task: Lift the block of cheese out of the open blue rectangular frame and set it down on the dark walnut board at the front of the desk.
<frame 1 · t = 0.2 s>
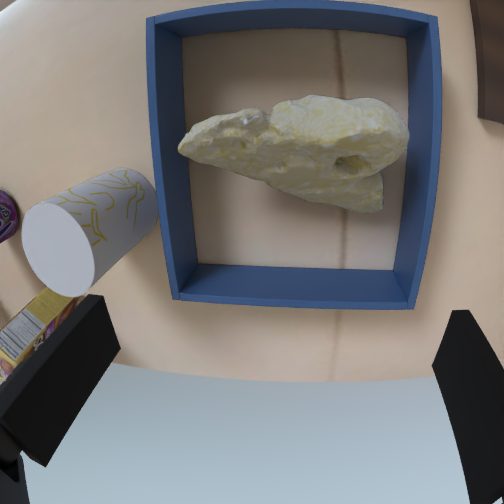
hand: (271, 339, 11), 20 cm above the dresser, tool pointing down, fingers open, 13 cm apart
blue rectangular frame: (297, 151, 28), on the dresser
beverage can: (7, 211, 36), on the dresser
white cylinder: (125, 204, 32), on the dresser
candy box: (66, 301, 40), on the dresser
cheese: (297, 151, 28), on the dresser
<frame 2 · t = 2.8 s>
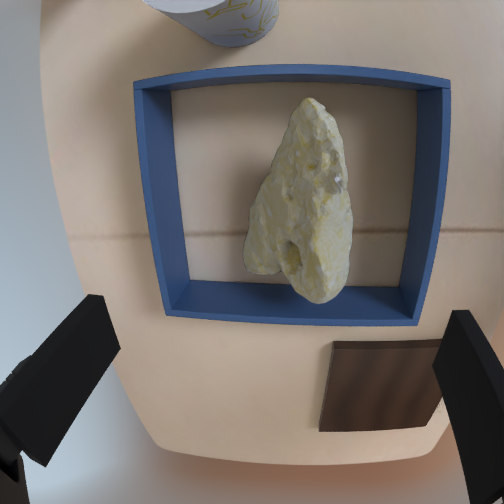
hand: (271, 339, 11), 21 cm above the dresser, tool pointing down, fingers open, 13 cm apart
blue rectangular frame: (295, 190, 30), on the dresser
white cylinder: (235, 9, 23), on the dresser
board: (387, 388, 39), on the dresser
cheese: (295, 189, 30), on the dresser
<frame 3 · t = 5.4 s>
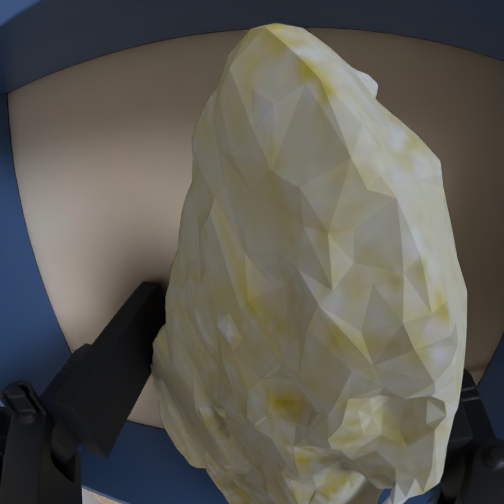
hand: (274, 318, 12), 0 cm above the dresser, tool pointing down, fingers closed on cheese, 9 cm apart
blue rectangular frame: (268, 311, 12), on the dresser
cheese: (262, 309, 13), on the dresser, touching gripper
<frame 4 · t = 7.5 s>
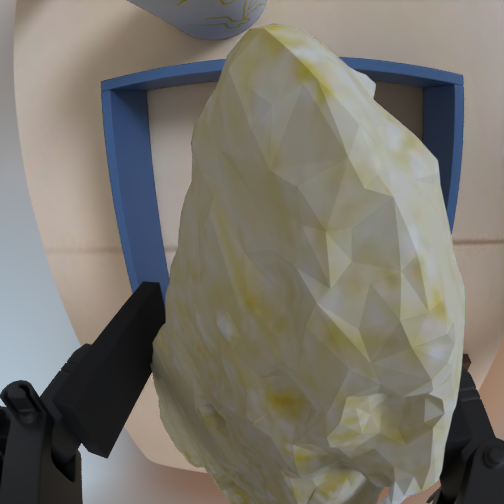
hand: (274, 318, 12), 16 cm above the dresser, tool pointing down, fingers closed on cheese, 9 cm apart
blue rectangular frame: (285, 200, 27), on the dresser
cheese: (261, 308, 13), point 16 cm above the dresser, touching gripper
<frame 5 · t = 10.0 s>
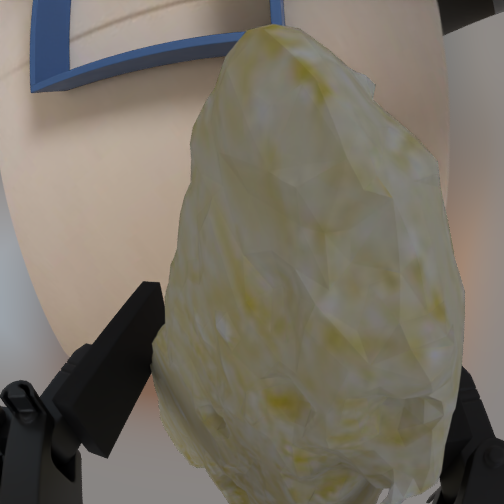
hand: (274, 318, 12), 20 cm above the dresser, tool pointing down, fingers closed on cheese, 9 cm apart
cheese: (261, 309, 13), point 20 cm above the dresser, touching gripper
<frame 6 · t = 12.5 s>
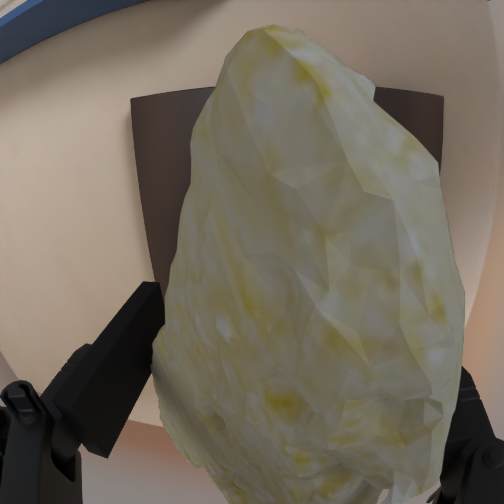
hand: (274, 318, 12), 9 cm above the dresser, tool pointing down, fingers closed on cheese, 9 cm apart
board: (287, 231, 20), on the dresser
cheese: (261, 309, 13), point 8 cm above the dresser, touching gripper
when the fingers open (2 cm above the dresser, at t = 14.6 s): cheese stays where it is, resting on board.
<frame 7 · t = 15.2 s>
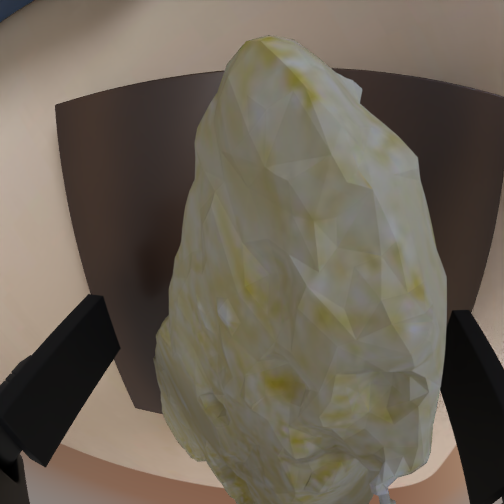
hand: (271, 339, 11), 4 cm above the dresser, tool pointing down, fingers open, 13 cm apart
board: (278, 287, 14), on the dresser
cheese: (261, 304, 13), point 1 cm above the dresser, touching board
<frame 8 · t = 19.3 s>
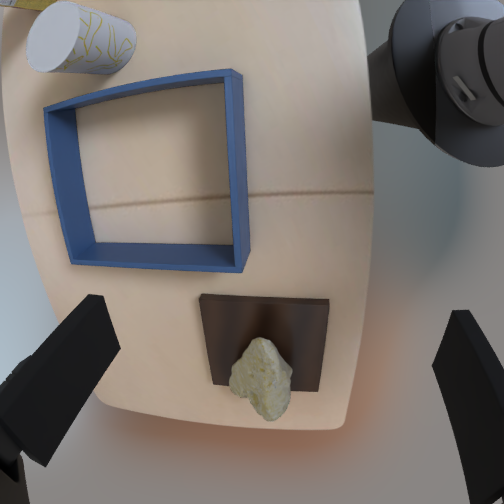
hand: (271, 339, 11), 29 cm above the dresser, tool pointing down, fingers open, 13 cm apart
blue rectangular frame: (151, 170, 39), on the dresser
white cylinder: (110, 46, 32), on the dresser
board: (265, 345, 48), on the dresser
cheese: (260, 350, 47), point 1 cm above the dresser, touching board
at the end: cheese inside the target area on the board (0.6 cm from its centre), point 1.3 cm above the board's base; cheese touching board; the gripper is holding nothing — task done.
